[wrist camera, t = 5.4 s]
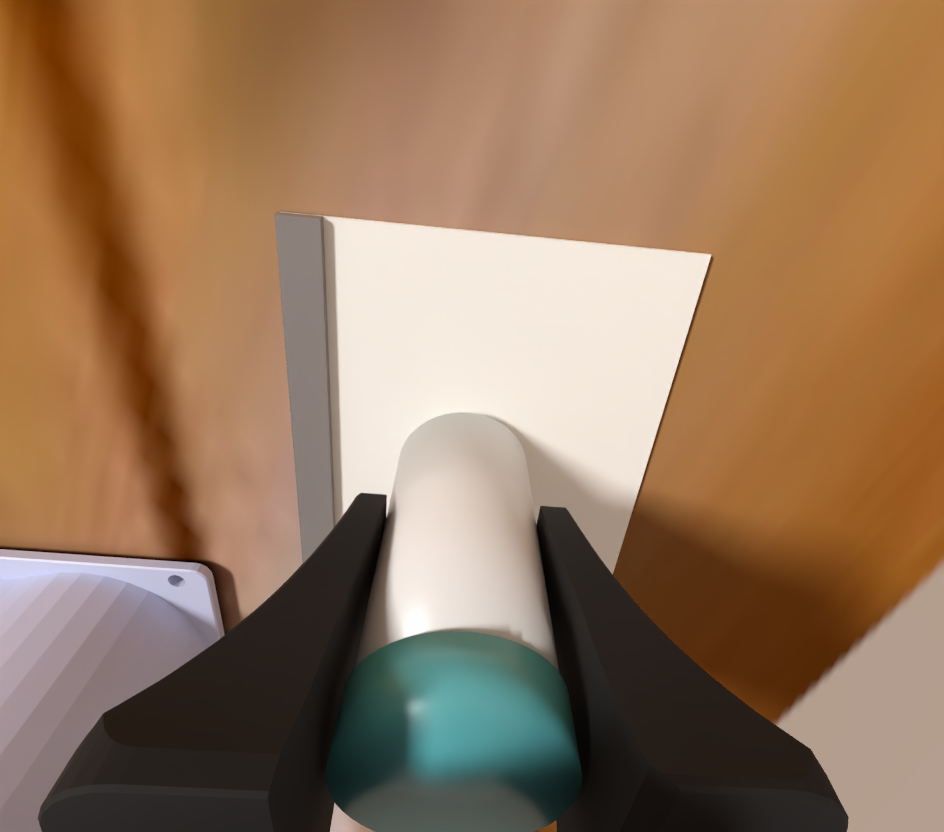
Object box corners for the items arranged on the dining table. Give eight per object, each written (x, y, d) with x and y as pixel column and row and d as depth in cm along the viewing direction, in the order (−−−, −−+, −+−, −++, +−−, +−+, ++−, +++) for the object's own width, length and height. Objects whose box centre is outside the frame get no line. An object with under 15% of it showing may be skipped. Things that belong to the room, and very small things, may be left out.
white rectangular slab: (311, 626, 19) (308, 636, 19) (280, 211, 12) (274, 213, 12) (589, 644, 19) (591, 654, 19) (709, 254, 13) (716, 258, 12)
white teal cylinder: (392, 514, 16) (327, 839, 9) (398, 401, 14) (322, 698, 7) (518, 525, 16) (555, 852, 9) (541, 416, 14) (610, 718, 7)
